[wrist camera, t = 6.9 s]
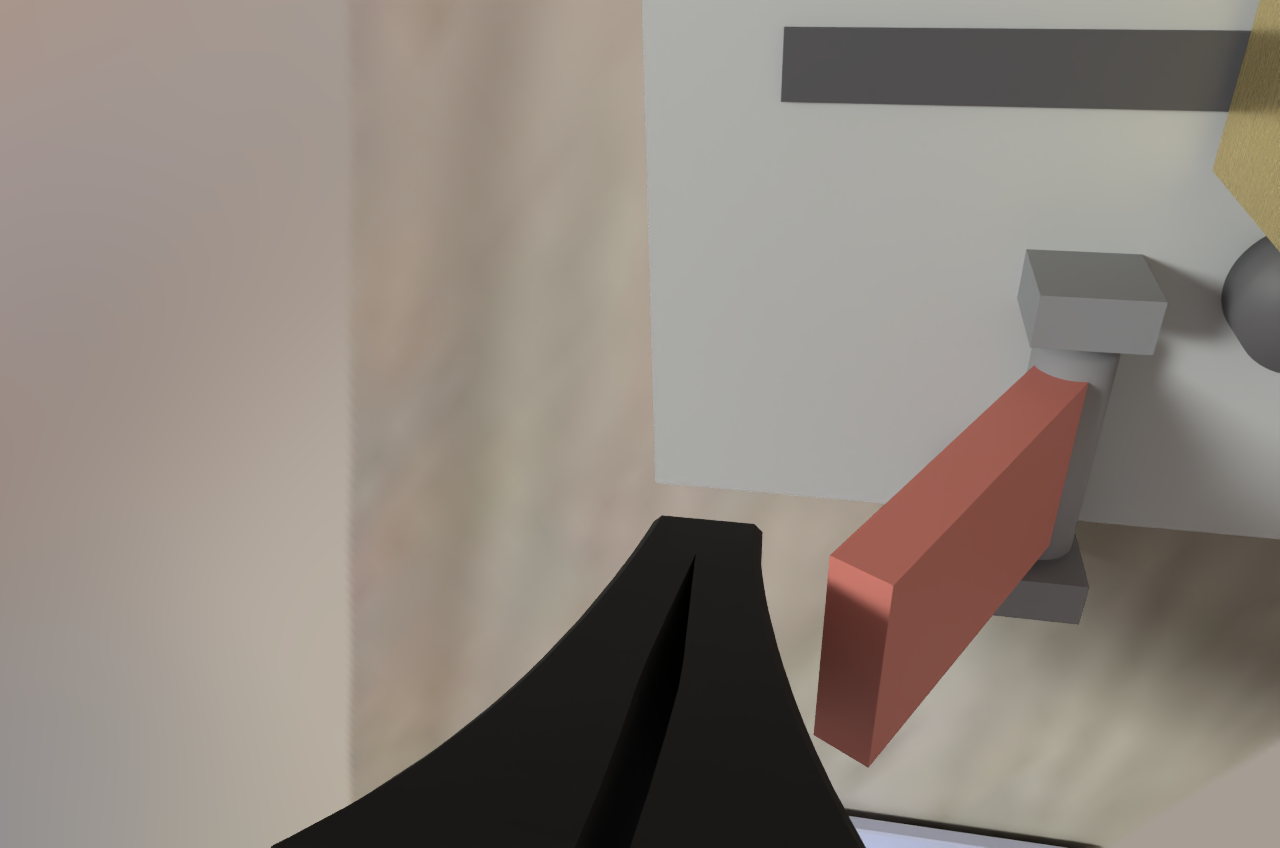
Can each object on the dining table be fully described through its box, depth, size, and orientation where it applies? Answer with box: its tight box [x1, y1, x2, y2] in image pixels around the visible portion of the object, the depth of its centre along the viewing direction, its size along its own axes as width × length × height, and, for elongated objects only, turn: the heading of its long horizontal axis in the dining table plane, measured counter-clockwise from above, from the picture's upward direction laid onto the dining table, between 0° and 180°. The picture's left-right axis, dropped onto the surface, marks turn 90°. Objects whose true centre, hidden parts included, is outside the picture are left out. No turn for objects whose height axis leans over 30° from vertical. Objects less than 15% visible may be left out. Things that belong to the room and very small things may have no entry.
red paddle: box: [814, 348, 1121, 767], centre depth 14 cm, size 4×1×7 cm, turn 2°
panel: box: [642, 0, 1280, 624], centre depth 14 cm, size 15×11×3 cm
